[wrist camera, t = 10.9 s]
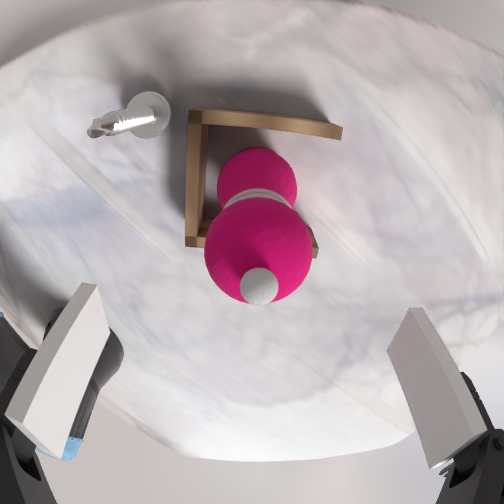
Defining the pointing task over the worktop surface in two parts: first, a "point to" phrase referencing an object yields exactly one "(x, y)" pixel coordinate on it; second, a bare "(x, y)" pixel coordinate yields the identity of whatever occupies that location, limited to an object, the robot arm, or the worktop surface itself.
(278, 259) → the pepper mill
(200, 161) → the u rest
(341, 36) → the worktop surface
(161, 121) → the screw
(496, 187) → the worktop surface
